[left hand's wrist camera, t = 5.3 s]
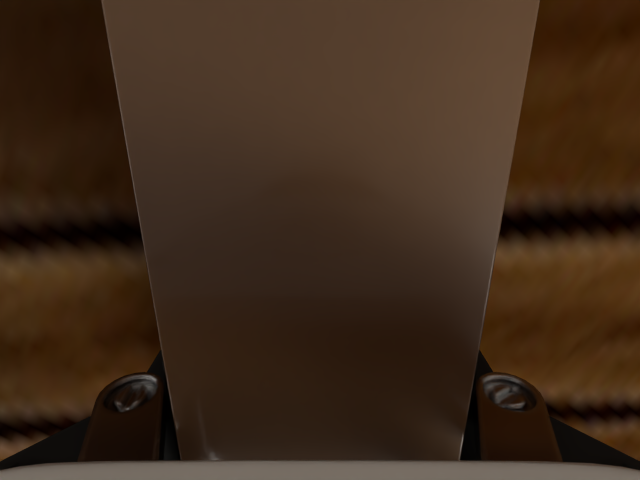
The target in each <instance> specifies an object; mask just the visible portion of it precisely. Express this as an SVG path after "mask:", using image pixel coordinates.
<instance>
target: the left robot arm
mask: <svg viewBox="0 0 640 480" xmlns="http://www.w3.org/2000/svg"><path fill="white" fill-rule="evenodd" d="M0 480H640V461H638V460H636V459H634V458H632V457H630V456H628V455H626V454H624V453H622V452H620V451H618V450H616V449H614V448H612V447H610V446H608V445H606V444H604V443H602V442H600V441H598V440H596V439H594V438H592V437H590V436H588V435H586V434H584V433H582V432H580V431H578V430H576V429H574V428H572V427H570V426H568V425H566V424H564V423H562V422H560V421H558V420H556V419H554V418H552V417H550V416H549V415H548V411H547V408H546V405H545V402H544V399H543V397H542V395H541V393H540V392H539V391H538V390H537V389H536V388H535V387H534V386H533V385H531V384H530V383H528V382H527V381H526V380H524V379H521V378H519V377H517V376H514V375H511V374H507V373H500V372H493V371H492V369H491V368H490V366H489V364H488V363H487V361H486V360H485V358H484V356H483V355H482V353H481V352H480V350H479V353H478V358H477V364H476V370H475V376H474V381H473V387H472V393H471V399H470V404H469V410H468V416H467V422H466V427H465V433H464V439H463V445H462V450H461V456H460V461H437V460H203V461H181V460H180V454H179V448H178V442H177V437H176V431H175V425H174V419H173V414H172V408H171V402H170V396H169V390H168V385H167V379H166V373H165V367H164V361H163V356H162V350H160V352H159V354H158V355H157V357H156V358H155V360H154V362H153V363H152V365H151V366H150V368H149V370H148V371H147V372H140V373H133V374H129V375H126V376H123V377H121V378H119V379H116V380H114V381H113V382H112V383H110V384H109V385H107V386H106V387H105V388H104V389H103V390H102V391H101V392H100V393H99V395H98V397H97V399H96V402H95V405H94V408H93V411H92V415H91V416H90V417H88V418H86V419H84V420H82V421H80V422H78V423H76V424H74V425H72V426H70V427H68V428H66V429H64V430H62V431H60V432H58V433H56V434H54V435H52V436H50V437H48V438H46V439H44V440H42V441H40V442H38V443H36V444H34V445H32V446H30V447H28V448H26V449H24V450H22V451H20V452H18V453H16V454H14V455H12V456H10V457H8V458H6V459H4V460H2V461H0Z"/></svg>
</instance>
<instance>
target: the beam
mask: <svg viewBox="0 0 640 480" xmlns="http://www.w3.org/2000/svg"><path fill="white" fill-rule="evenodd" d="M539 2H540V0H101V3H102V9H103V14H104V20H105V26H106V32H107V38H108V43H109V49H110V55H111V61H112V67H113V72H114V78H115V84H116V90H117V95H118V101H119V107H120V113H121V119H122V124H123V130H124V136H125V142H126V147H127V153H128V159H129V165H130V171H131V176H132V182H133V188H134V194H135V200H136V205H137V211H138V217H139V223H140V228H141V234H142V240H143V246H144V252H145V257H146V263H147V269H148V275H149V281H150V286H151V292H152V298H153V304H154V309H155V315H156V321H157V327H158V333H159V338H160V344H161V350H162V356H163V361H164V367H165V373H166V379H167V385H168V390H169V396H170V402H171V408H172V414H173V419H174V425H175V431H176V437H177V442H178V448H179V454H180V460H181V461H203V460H437V461H460V456H461V450H462V445H463V439H464V433H465V427H466V422H467V416H468V410H469V404H470V399H471V393H472V387H473V381H474V376H475V370H476V364H477V358H478V353H479V347H480V341H481V335H482V330H483V324H484V318H485V312H486V307H487V301H488V295H489V289H490V284H491V278H492V272H493V266H494V261H495V255H496V249H497V243H498V238H499V232H500V226H501V221H502V215H503V209H504V203H505V198H506V192H507V186H508V180H509V175H510V169H511V163H512V157H513V152H514V146H515V140H516V134H517V129H518V123H519V117H520V111H521V106H522V100H523V94H524V88H525V83H526V77H527V71H528V65H529V60H530V54H531V48H532V42H533V37H534V31H535V25H536V19H537V14H538V8H539Z"/></svg>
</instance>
